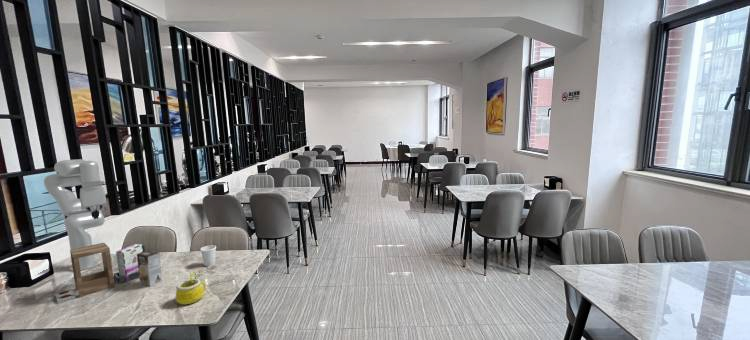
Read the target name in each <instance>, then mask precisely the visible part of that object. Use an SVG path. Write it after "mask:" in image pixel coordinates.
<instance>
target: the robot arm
mask: <svg viewBox="0 0 750 340" xmlns="http://www.w3.org/2000/svg"><path fill="white" fill-rule="evenodd" d="M53 170H54V172H56V173H52V174H48V175H47V176H45V177H44V179H43V182H44V184H43V185H44V187H45V189H46V191H47V192H48V193H49V195H50V196H51V197H52V198H54V200H55V201H56V204H57V205H58V208H60V211H61V213H62V214H63V215H64V216H65V219H64V222H63V223H64V227H65V230H66V232H67V236H68V242H69V248H70V249H69V250H72V249H77V248H81V247H86V246H91V245H93V242H92V236H91V234H90V233H89V232H87V231H85V230H88V229H93V228H97V227H101V226H103V225H104V224H105V221H106V220H105V215H104V213H103V211H102V210H101V209H102V208H104V207H107V206H108V203H107V197H106V193H105V190H104V187H103V185H104V184H105V182H104V180H103V181H101V178H100V170H99V164H98V162H97V161H93V160H85V159H83V158H82V159H81V158H79V159H64V160H63V159H62V160H60V161H57V162H55V164H54V167H53ZM77 186H81V188H79V189H80V190H79V198H77V196H76V195H75V193H74V192H72V191H71V190H69V189H67V188H68V187H77ZM79 264H80V271H84V270H88V269H91V268H94V267H96V266H98V264H99V261H97V260H95V254H94V255H90V256H85V257H81V258H79ZM69 271H71V272H73V268H72V265H71V266H70V267H69Z"/></svg>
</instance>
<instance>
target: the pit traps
mask: <svg viewBox="0 0 750 340" xmlns="http://www.w3.org/2000/svg"><path fill="white" fill-rule="evenodd" d="M54 297H55V299H56V302H57V305H58V304H62V303H66V302H69V301H72V300H75V299H76V295H75V292H74V290H73V288H69V289H66V290H63V291H59V292H55V293H54Z"/></svg>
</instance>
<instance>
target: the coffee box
mask: <svg viewBox="0 0 750 340" xmlns="http://www.w3.org/2000/svg"><path fill="white" fill-rule="evenodd" d="M137 260H138V268H139V284H142V285H144V286H147V287H152V286H155V285H157V284H160V283H162V282H163V275H162V273H163V272H162V265H161V255H160V252H159V251H157V250H151V249H148V250H145V251H144V252H141V253H138V254H137Z"/></svg>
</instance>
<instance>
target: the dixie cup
mask: <svg viewBox="0 0 750 340" xmlns="http://www.w3.org/2000/svg"><path fill="white" fill-rule="evenodd" d="M199 250H200V253H201V257H202V261H203V264H204V265H205V267H211V266H210V265H212V266H214V265H215V264H216V258H217V257H216V255H217V254H216V252H217V246H216V245H206V246H202V247H200V249H199ZM213 264H214V265H213ZM204 265H203V266H204Z"/></svg>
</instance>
